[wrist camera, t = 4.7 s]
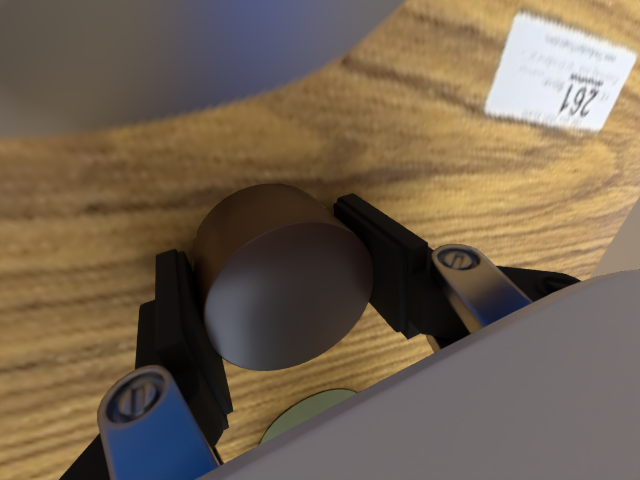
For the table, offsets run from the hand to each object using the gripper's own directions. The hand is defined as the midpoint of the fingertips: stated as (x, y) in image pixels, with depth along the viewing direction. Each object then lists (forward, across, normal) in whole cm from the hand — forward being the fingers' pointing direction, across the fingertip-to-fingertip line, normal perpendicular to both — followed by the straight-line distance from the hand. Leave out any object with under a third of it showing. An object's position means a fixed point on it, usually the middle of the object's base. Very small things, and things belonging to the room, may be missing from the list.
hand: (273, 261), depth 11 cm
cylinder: (+1, 0, 0) cm, 1 cm away
